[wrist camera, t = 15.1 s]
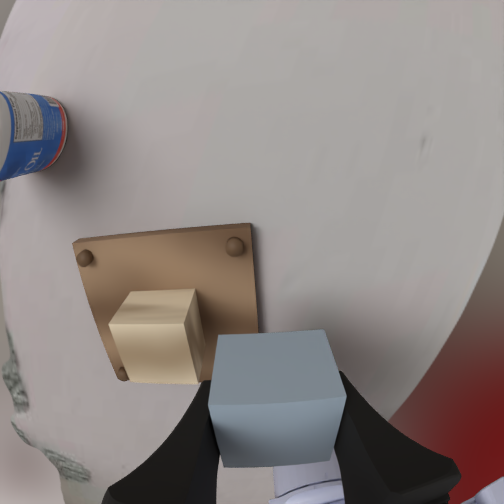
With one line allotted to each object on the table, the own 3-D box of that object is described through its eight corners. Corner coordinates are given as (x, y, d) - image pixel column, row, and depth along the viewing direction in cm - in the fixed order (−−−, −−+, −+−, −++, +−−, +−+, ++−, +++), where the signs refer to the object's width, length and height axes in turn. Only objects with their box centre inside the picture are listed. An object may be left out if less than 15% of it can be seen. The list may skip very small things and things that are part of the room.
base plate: (261, 371, 23) (262, 386, 21) (121, 371, 23) (115, 384, 21) (250, 222, 19) (250, 230, 17) (79, 238, 19) (67, 246, 17)
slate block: (316, 398, 14) (329, 460, 10) (228, 403, 14) (223, 467, 10) (323, 329, 13) (346, 396, 9) (218, 334, 13) (208, 404, 9)
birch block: (205, 344, 21) (198, 384, 17) (146, 345, 21) (130, 382, 17) (195, 288, 19) (183, 323, 15) (130, 291, 19) (108, 324, 15)
